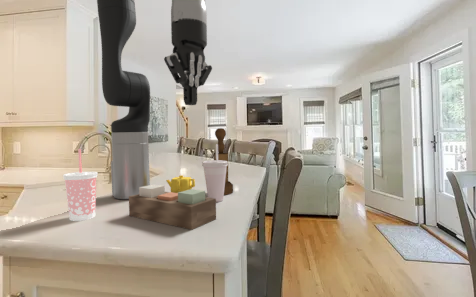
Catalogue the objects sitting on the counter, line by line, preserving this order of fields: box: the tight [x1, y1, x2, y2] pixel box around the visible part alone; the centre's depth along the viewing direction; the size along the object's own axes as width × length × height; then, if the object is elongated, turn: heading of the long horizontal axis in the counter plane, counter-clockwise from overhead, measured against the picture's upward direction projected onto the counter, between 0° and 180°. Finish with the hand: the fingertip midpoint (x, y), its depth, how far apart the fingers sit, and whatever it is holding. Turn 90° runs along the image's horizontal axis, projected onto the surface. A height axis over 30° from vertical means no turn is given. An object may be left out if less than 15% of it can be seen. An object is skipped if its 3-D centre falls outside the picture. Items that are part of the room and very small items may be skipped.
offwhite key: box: [139, 184, 166, 198], centre depth 60 cm, size 4×4×3 cm
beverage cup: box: [62, 148, 99, 222], centre depth 58 cm, size 6×6×14 cm
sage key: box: [178, 188, 206, 204], centre depth 54 cm, size 4×4×3 cm
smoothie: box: [201, 143, 229, 203], centre depth 71 cm, size 6×6×14 cm
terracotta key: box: [158, 191, 178, 201], centre depth 57 cm, size 4×4×3 cm
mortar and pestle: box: [213, 127, 234, 196], centre depth 79 cm, size 7×6×18 cm
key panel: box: [128, 191, 217, 230], centre depth 57 cm, size 17×7×4 cm, turn 58°
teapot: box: [166, 175, 196, 193], centre depth 79 cm, size 8×6×5 cm
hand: (190, 104), depth 62 cm, fingers closed
